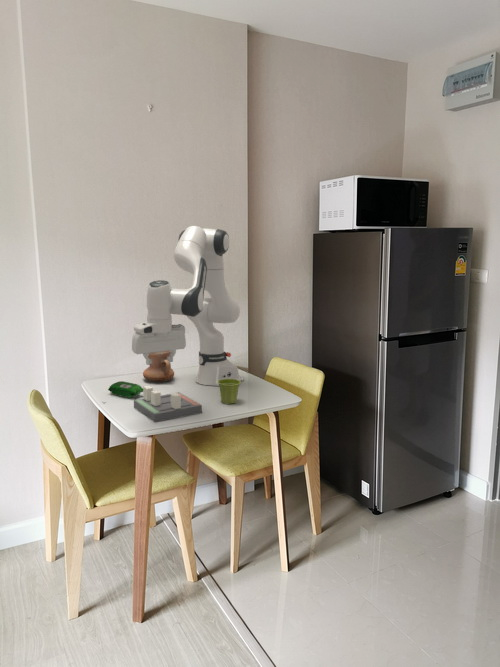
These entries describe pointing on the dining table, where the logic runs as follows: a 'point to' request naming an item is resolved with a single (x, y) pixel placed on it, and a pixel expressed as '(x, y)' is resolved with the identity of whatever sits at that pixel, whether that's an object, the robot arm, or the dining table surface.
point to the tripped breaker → (175, 401)
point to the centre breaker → (155, 398)
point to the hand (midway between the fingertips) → (159, 363)
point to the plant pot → (229, 390)
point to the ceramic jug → (159, 367)
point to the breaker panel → (167, 408)
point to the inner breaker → (147, 393)
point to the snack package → (125, 389)
